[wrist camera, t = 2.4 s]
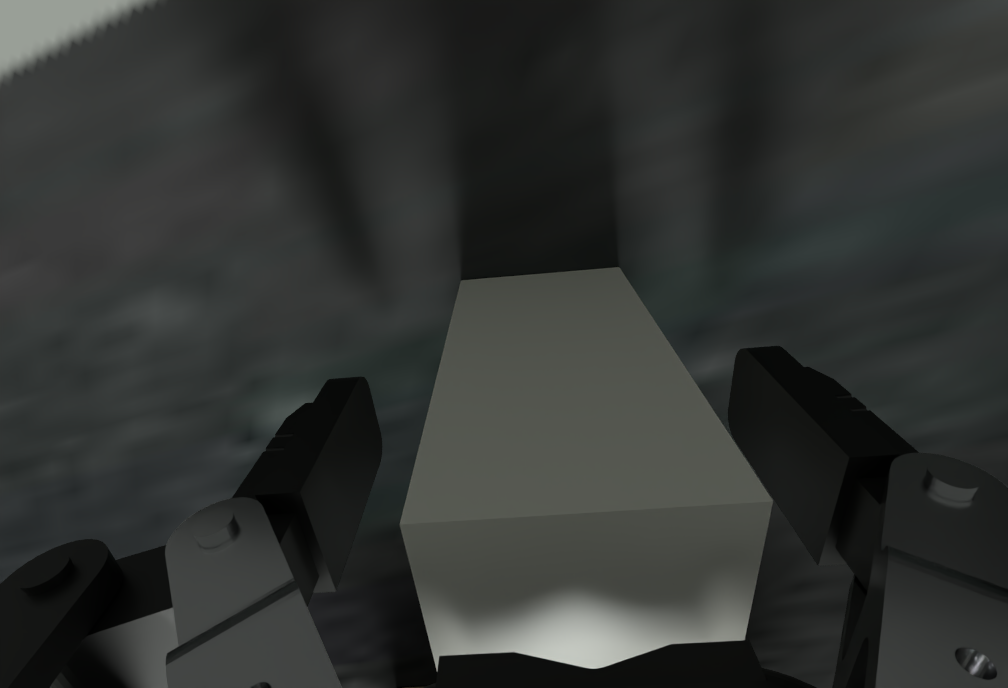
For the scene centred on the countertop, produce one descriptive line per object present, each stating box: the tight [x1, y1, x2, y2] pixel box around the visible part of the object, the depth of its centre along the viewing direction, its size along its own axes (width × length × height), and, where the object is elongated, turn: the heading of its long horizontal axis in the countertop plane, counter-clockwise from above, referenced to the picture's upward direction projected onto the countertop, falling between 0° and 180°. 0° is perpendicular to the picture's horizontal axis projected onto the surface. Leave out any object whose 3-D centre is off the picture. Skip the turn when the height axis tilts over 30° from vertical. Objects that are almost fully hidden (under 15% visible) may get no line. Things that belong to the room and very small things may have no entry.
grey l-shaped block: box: [400, 267, 773, 670], centre depth 13 cm, size 17×4×8 cm, turn 5°
